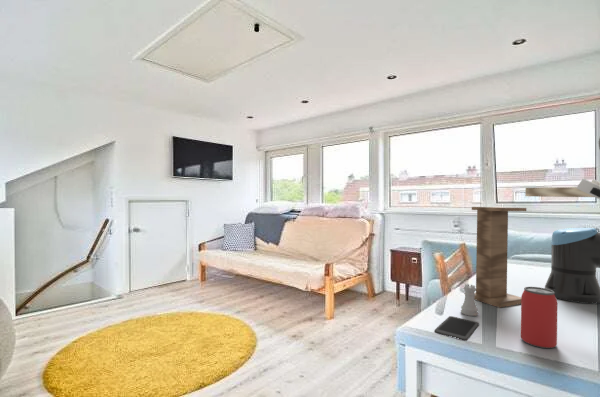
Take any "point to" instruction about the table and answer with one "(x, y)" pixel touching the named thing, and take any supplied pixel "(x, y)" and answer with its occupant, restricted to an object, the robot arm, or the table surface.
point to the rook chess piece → (469, 301)
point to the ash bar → (556, 192)
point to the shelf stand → (493, 256)
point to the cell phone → (457, 327)
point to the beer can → (539, 317)
